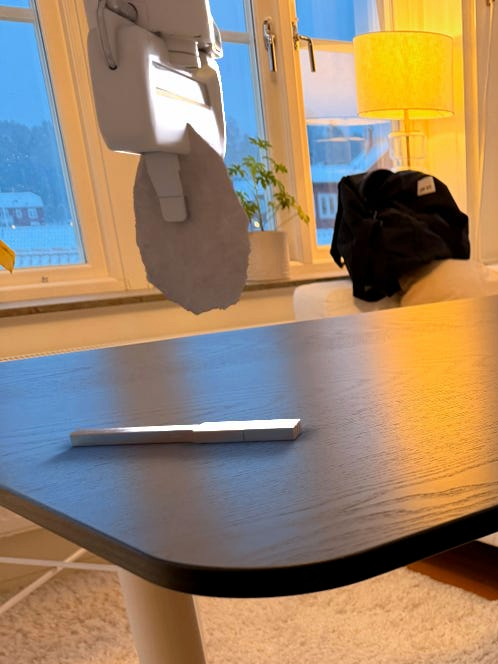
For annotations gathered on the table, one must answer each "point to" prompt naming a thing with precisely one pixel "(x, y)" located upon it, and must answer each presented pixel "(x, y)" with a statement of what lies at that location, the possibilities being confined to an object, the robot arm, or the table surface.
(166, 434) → the grey long bar
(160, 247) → the stone tool
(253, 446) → the table surface
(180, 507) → the table surface
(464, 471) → the table surface
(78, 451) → the table surface
